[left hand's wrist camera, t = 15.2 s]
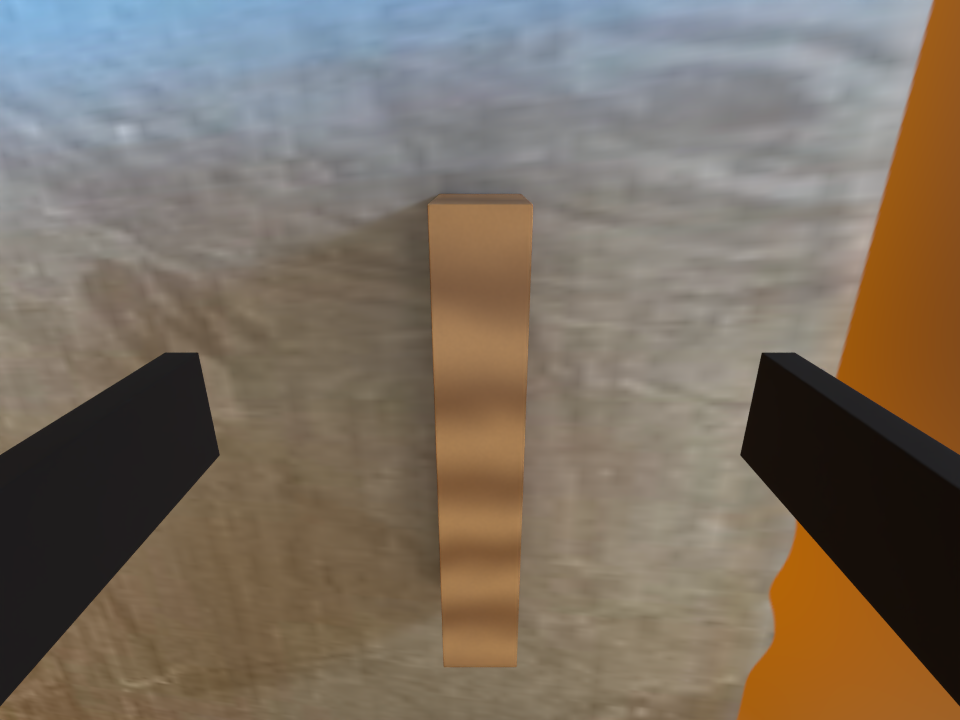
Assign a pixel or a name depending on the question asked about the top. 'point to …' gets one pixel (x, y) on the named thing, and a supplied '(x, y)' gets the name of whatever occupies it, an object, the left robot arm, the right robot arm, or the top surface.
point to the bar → (480, 416)
